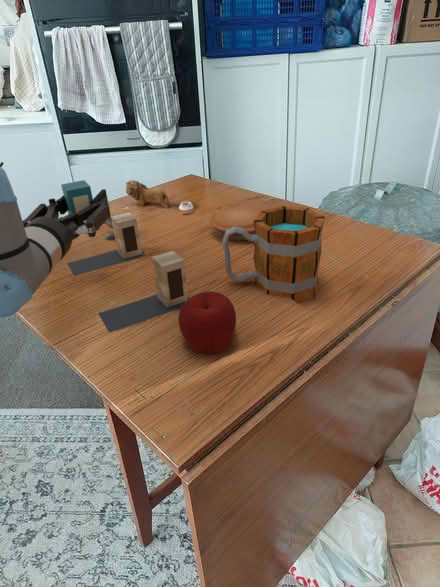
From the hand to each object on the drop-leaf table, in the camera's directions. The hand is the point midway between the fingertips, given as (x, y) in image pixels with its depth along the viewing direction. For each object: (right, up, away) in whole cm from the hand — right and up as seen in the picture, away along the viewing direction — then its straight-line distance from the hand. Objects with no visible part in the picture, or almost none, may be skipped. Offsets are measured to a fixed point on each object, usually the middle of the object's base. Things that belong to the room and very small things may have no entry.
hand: (88, 195), depth 88 cm
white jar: (+17, +3, +37) cm, 41 cm away
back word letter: (+6, -10, +13) cm, 18 cm away
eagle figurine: (0, -6, +23) cm, 24 cm away
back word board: (+1, -13, +12) cm, 18 cm away
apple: (+25, -30, -15) cm, 42 cm away
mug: (+38, -19, +1) cm, 42 cm away
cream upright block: (+18, -21, -4) cm, 28 cm away
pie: (+32, -4, +24) cm, 41 cm away
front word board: (+13, -24, -6) cm, 28 cm away
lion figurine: (+6, +5, +40) cm, 40 cm away
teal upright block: (0, -7, -2) cm, 7 cm away
